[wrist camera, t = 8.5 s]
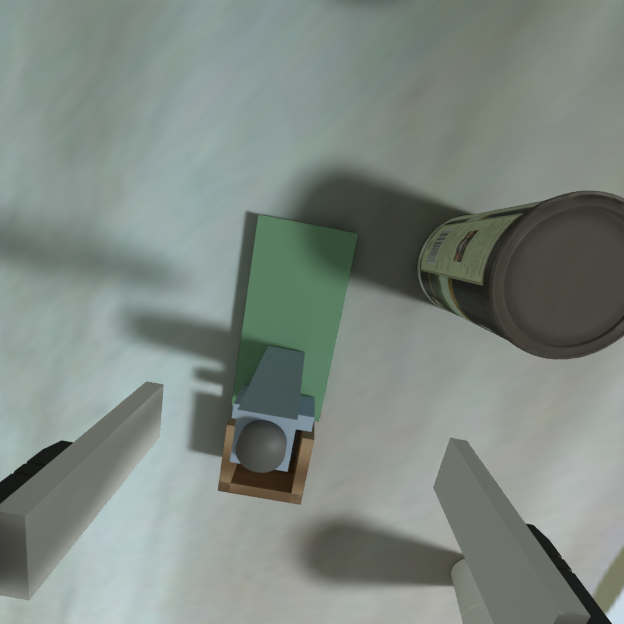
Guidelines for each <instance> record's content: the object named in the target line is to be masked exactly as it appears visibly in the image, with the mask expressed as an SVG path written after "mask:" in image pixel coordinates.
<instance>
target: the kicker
mask: <svg viewBox="0 0 624 624" xmlns="http://www.w3.org/2000/svg"><path fill="white" fill-rule="evenodd" d="M304 357H305V352H300V351H294V350H289V349H283V348H278V347H272V346H268V347H267V349H266V351H265V353H264V355H263V357H262V359H261V361H260V364H259V366H258V368H257V370H256V372H255V374H254V376H253V378H252V380H251V382H250V384H249V386H245V385H243V386H242V388H241V390H240V392H239V394H238V396H237V398H236V400H235V402H234V405H233V412H232V418H234V419H236V423H235V430H234V437H233V443H232V450H231V457H230V462H233V463H239V464H242V465H243V466H244V467H245V468H247V469H248V470H250V471H253V472H257V473H266V472H270V471H273V470H280V471H286V472H288V467H289V462H290V456H291V451H292V446H293V441H294V436H295V431H296V429H298V430H303V431H309V432H312V427H313V422H314V417H315V398H313V397H308V396H302V395H300V393H301V384H302V375H303V366H304Z"/></svg>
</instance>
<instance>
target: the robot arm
mask: <svg viewBox="0 0 624 624" xmlns="http://www.w3.org/2000/svg"><path fill="white" fill-rule="evenodd" d="M163 386H164V385H163V384H158V383H152V382H145V383H144V384H143V385H142V386H141V387H139V388H138V389H137V390H136V391H135V392H133V393H132V394H131V395H130V396H129V397H127V398H126V399H125V400H124V401H123V402H121V403H120V404H119V405H118V406H117V407H115V408H114V409H113V410H112V411H111V412H109V413H108V414H107V415H106V416H105V417H104V418H102V419H101V420H100V421H99V422H98V423H96V424H95V425H94V426H93V427H92V428H90V429H89V430H88V431H87V432H86V433H84V434H83V435H82V436H81V437H80V438H78V439H77V440H76V441H75V442H74V443H73V442H68V441H60V442H58V443H55V444H53V445H51V446H49V447H47V448H45V449H43V450H41V451H40V452H39V453H38V454H36V455H35V456H34V457H32V458H31V459H30V460H28V461H27V463H26V464H23V465H22V466H21V467H19V468H18V469H17V470H15V471H14V473H13V474H10V475H9V476H8V477H6V478H5V479H4V480H2V481H1V482H0V595H2V596H8V597H14V598H20V599H25V600H30V599H31V597H32V596H33V595H34V594H35V592H36V591H37V590H38V589H39V587H40V586H41V585H42V584H43V582H44V581H45V580H46V579H47V577H48V576H49V575H50V574H51V572H52V571H53V570H54V569H55V567H56V566H57V565H58V564H59V562H60V561H61V560H62V559H63V557H64V556H65V555H66V554H67V552H68V551H69V550H70V549H71V547H72V546H73V545H74V544H75V542H76V541H77V540H78V539H79V537H80V536H81V535H82V534H83V532H84V531H85V530H86V529H87V527H88V526H89V525H90V524H91V522H92V521H93V520H94V519H95V517H96V516H97V515H98V514H99V512H100V511H101V510H102V509H103V507H104V506H105V505H106V504H107V502H108V501H109V500H110V499H111V497H112V496H113V495H114V494H115V492H116V491H117V490H118V489H119V487H120V486H121V485H122V484H123V482H124V481H125V480H126V479H127V477H128V476H129V475H130V474H131V472H132V471H133V470H134V469H135V467H136V466H137V465H138V464H139V462H140V461H141V460H142V459H143V457H144V456H145V455H146V454H147V452H148V451H149V450H150V449H151V447H152V446H153V445H154V444H155V442H156V441H157V440H158V439H159V437H160V425H161V412H162V399H163ZM433 488H434V490H435V492H436V495H437V497H438V499H439V501H440V504H441V506H442V508H443V510H444V513H445V515H446V517H447V519H448V522H449V524H450V526H451V528H452V531H453V533H454V535H455V538H456V540H457V542H458V544H459V547H460V549H461V551H462V553H463V556H464V558H465V560H466V562H467V565H468V567H469V569H470V571H471V574H472V576H473V578H474V580H475V583H476V585H477V587H478V589H479V592H480V594H481V596H482V598H483V601H484V603H485V605H486V607H487V610H488V612H489V614H490V616H491V619H492V621H493V623H494V624H612V623H611V622H610V621H609V619H608V618H607V617H606V615H605V614H604V613H603V611H602V610H601V609H600V607H599V606H598V605H597V603H596V602H595V600H594V599H593V598H592V596H591V595H590V594H589V592H588V591H587V590H586V588H585V587H584V586H583V584H582V583H581V582H580V580H579V579H578V578H577V576H576V575H575V574H574V573H572V570H571V568H570V567H569V566H568V564H567V563H566V562H565V560H564V559H562V558H561V555H560V554H559V552H558V551H557V550H556V548H555V547H554V546H553V544H552V543H551V542H550V540H549V539H548V538H547V537H546V536H544V535H543V534H542V533H541V532H540V531H539V530H538V529H537V528H536V527H535V526H534V525H531V524H525V522H524V521H523V520H522V518H521V517H520V515H519V514H518V513H517V511H516V510H515V508H514V507H513V505H512V504H511V503H510V501H509V500H508V498H507V497H506V496H505V494H504V493H503V491H502V490H501V488H500V487H499V486H498V484H497V483H496V481H495V480H494V479H493V477H492V476H491V474H490V473H489V472H488V470H487V469H486V467H485V466H484V464H483V463H482V462H481V460H480V459H479V457H478V456H477V455H476V453H475V452H474V450H473V449H472V447H471V446H470V445H469V443H468V442H467V441H465V440H460V439H454V438H450V440H449V443H448V446H447V449H446V452H445V455H444V458H443V461H442V463H441V466H440V469H439V472H438V475H437V478H436V481H435V484H434V487H433Z"/></svg>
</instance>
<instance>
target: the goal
mask: <svg viewBox="0 0 624 624" xmlns="http://www.w3.org/2000/svg"><path fill="white" fill-rule="evenodd" d="M235 423H236V419H234V418H232V416H231V418H230V420H229V422H228V424H227V428H226V435H225V442H224V450H223V457H222V464H221V471H220V478H219V486H218V491H223V492H228V493H234V494H240V495H246V496H252V497H258V498H264V499H270V500H276V501H282V502H288V503H294V504H300V505H301V500H302V495H303V491H304V486H305V481H306V476H307V472H308V467H309V462H310V457H311V453H312V448H313V443H314V422H313V427H312V432H309V431H303V430H301V432H300V437H299V442H298V447H297V452H296V457H295V461H290V462H289V467H288V472H286V471H280V470H273V471H270V472H266V473H257V472H253V471H250V470H248V469H247V468H245V467H244V466H243V465H242V464H239V463H233V462H230V457H231V450H232V443H233V437H234V430H235Z"/></svg>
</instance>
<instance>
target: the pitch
mask: <svg viewBox="0 0 624 624" xmlns="http://www.w3.org/2000/svg"><path fill="white" fill-rule="evenodd" d="M357 237H358V233H353V232H348V231H342V230H337V229H332V228H327V227H321V226H316V225H311V224H306V223H300V222H295V221H290V220H285V219H279V218H274V217H269V216H264V215H258V220H257V227H256V234H255V242H254V249H253V256H252V263H251V270H250V277H249V284H248V291H247V299H246V306H245V313H244V320H243V327H242V334H241V341H240V348H239V356H238V363H237V370H236V377H235V384H234V391H233V398H232V406H233V405H234V402H235V400H236V398H237V396H238V394H239V392H240V390H241V388H242V386H243V385H245V386H249V384H250V382H251V380H252V378H253V376H254V374H255V372H256V370H257V368H258V366H259V364H260V361H261V359H262V357H263V355H264V353H265V351H266V349H267V347H268V346H272V347H278V348H283V349H289V350H294V351H300V352H305V357H304V366H303V375H302V384H301V393H300V395H302V396H308V397H313V398H315V417H314V421H319V418H320V413H321V408H322V404H323V399H324V394H325V389H326V385H327V380H328V375H329V370H330V366H331V361H332V356H333V351H334V347H335V342H336V337H337V332H338V328H339V323H340V318H341V313H342V309H343V304H344V299H345V294H346V290H347V285H348V280H349V275H350V271H351V266H352V261H353V256H354V252H355V247H356V242H357Z"/></svg>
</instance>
